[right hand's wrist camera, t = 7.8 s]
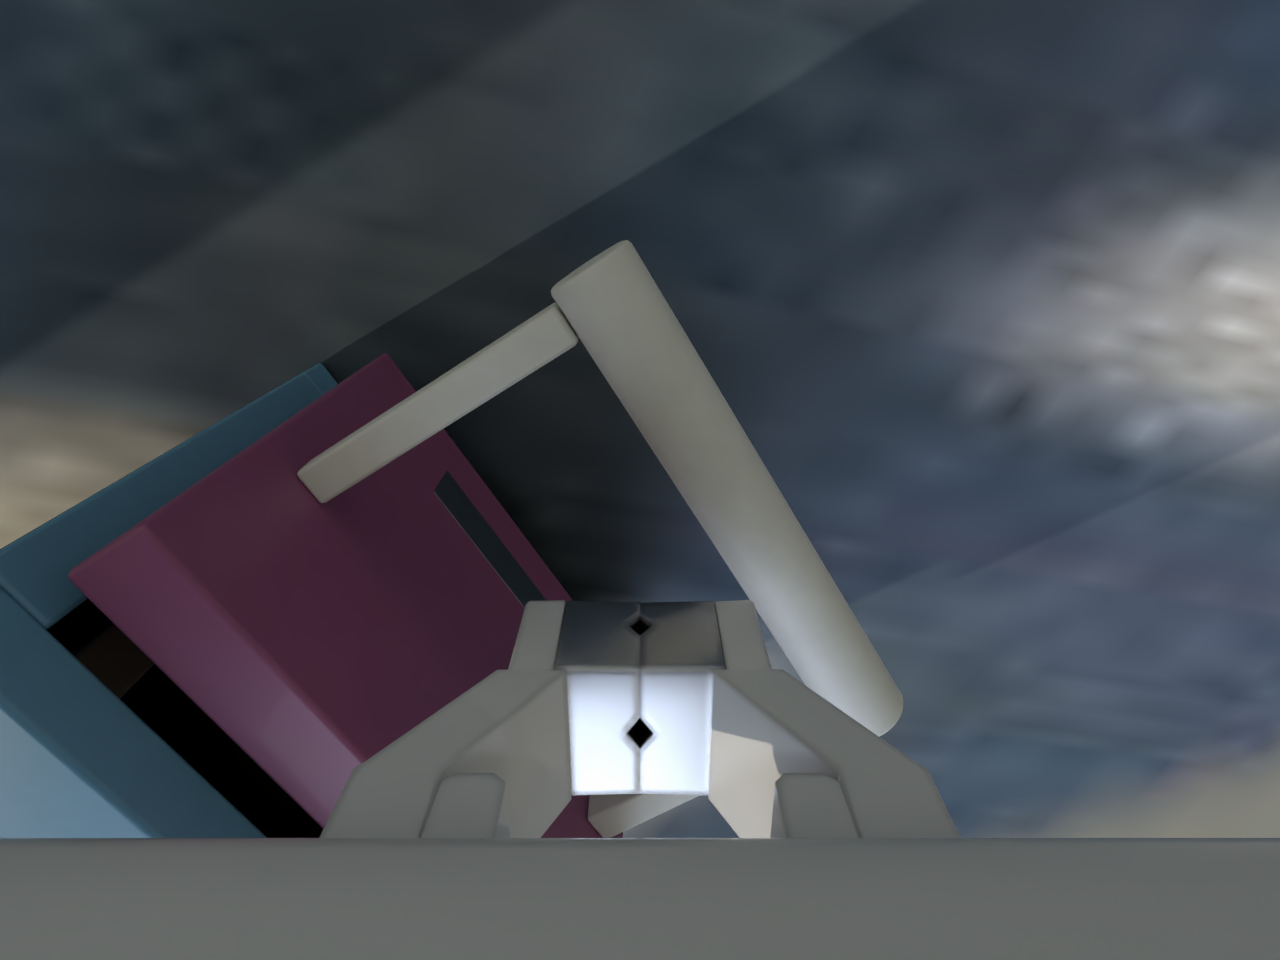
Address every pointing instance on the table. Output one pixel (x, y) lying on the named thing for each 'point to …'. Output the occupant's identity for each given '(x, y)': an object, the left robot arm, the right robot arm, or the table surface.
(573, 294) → the drawer
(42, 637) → the cabinet
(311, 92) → the table surface
